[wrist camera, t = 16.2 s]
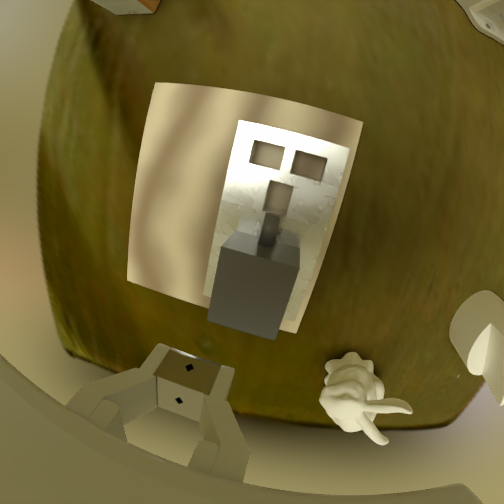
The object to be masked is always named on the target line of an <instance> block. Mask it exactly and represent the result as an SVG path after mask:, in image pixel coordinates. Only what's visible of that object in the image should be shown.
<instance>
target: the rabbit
mask: <svg viewBox="0 0 504 504" xmlns="http://www.w3.org/2000/svg"><path fill="white" fill-rule="evenodd" d="M373 368H374V366H373V362H372V361H371V360H362V359H361V357H360V356H359V355H358V354H357V353H356V352H349V353H346V354H345V355H344V357H343V358H342V359H332V360H330V361H328V362H327V363H326V364H325V369H326V371H327V372H328V373H329V374H328V375H327V376H326V377H325V379H324V382H325V384H326V386H325V387H324V388H323V389H322V394H321V395H320V398H319V401H320V404H321V405H322V406H323V407H324V408H325V410H326V412H327V414H328V415H329V416H330V417H331V418H332V419H333V420H334V422H335V423H336V424H338V425H339V426H340V427H341V428H342V429H343V430H344V431H347V432H356V431H360V430H363V431H364V432H365V433H366V434H367V435H368V436H369V437H370V438H371V439H372V440H373V441H374V442H375V443H377V444H379V445H385V444H387V443H389V440H388V439H387V437H385V436H383V435H381V433H380V432H379V431H378V429H377V428H376V426H375V425H374V423H373V420H374V418H375V416H376V414H377V413H394V412H401V413H406V414H412V412H413V411H412V408H411V407H410V405H409V404H408V403H407V402H405V401H403V400H401V399H398V398H386V399H383V397H384V385H383V382H382V381H381V380H380V379H379V378H378V377H376V376H375V375H374V374H373Z"/></svg>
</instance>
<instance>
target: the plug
mask: <svg viewBox="0 0 504 504" xmlns="http://www.w3.org/2000/svg"><path fill="white" fill-rule="evenodd" d="M280 218H281V217H280V216H279V215H276V214H273V213H265V217H264V221H263V225H262V229H261V233H260V236H255V235H251V234H248V233H244V232H240V231H237V230H235V231H234V232H233V233H232V234H231V236H230V237H229V238H228V239H227V240H226V241H225V242H224V244H223V245H222V246H221V249H220V254H219V259H218V264H217V269H216V274H215V279H214V284H213V289H212V295H211V300H210V305H209V311H208V316H207V321H210V322H213V323H216V324H219V325H223V326H226V327H229V328H232V329H236V330H239V331H243V332H246V333H249V334H253V335H256V336H260V337H264V338H267V339H271V340H275V339H276V336H277V333H278V331H279V328H280V325H281V322H282V319H283V317H284V314H285V311H286V308H287V305H288V302H289V299H290V296H291V293H292V290H293V287H294V284H295V281H296V278H297V275H298V272H299V269H300V248H298V247H294V246H291V245H287V244H284V243H280V242H277V241H274V240H275V237H276V233H277V229H278V226H279V222H280Z"/></svg>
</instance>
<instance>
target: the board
mask: <svg viewBox="0 0 504 504" xmlns="http://www.w3.org/2000/svg"><path fill="white" fill-rule="evenodd" d="M239 120H241V121H246V122H251V123H256V124H261V125H265V126H270V127H274V128H278V129H283V130H287V131H291V132H295V133H298V134H302V135H306V136H309V137H313V138H317V139H320V140H323V141H327V142H330V143H333V144H337V145H340V146H343V147H346V148H349V149H350V150H349V154H348V158H347V162H346V165H345V169H344V173H343V176H342V180H341V184H340V187H339V191H338V194H337V197H336V201H335V204H334V208H333V211H332V214H331V217H330V221H329V224H328V227H327V230H326V233H325V237H324V240H323V243H322V246H321V249H320V252H319V255H318V258H317V261H316V264H315V267H314V270H313V273H312V276H311V278H310V281H309V284H308V287H307V290H306V293H305V295H304V298H303V301H302V304H301V306H300V309H299V312H298V314H297V317H296V320H295V321H291V320H287V319H284V318H283V319H282V322H281V325H280V328H279V329H280V330H284V331H288V332H292V333H296V332H297V330H298V327H299V325H300V322H301V320H302V317H303V314H304V312H305V309H306V307H307V304H308V301H309V299H310V296H311V293H312V290H313V288H314V285H315V282H316V279H317V277H318V274H319V271H320V268H321V265H322V262H323V259H324V256H325V254H326V251H327V248H328V245H329V242H330V238H331V235H332V232H333V229H334V226H335V223H336V220H337V216H338V213H339V210H340V207H341V203H342V200H343V197H344V193H345V190H346V186H347V183H348V179H349V176H350V172H351V168H352V165H353V161H354V157H355V153H356V149H357V146H358V142H359V138H360V133H361V129H362V125H363V122H361V121H358V120H355V119H352V118H349V117H346V116H343V115H340V114H337V113H333V112H330V111H327V110H323V109H320V108H316V107H313V106H309V105H305V104H301V103H297V102H293V101H289V100H284V99H280V98H275V97H271V96H266V95H260V94H255V93H250V92H244V91H238V90H231V89H224V88H216V87H208V86H199V85H188V84H175V83H155V86H154V90H153V94H152V98H151V102H150V106H149V111H148V115H147V120H146V124H145V129H144V134H143V139H142V144H141V150H140V156H139V162H138V168H137V174H136V181H135V189H134V196H133V205H132V214H131V225H130V237H129V251H128V272H127V280H128V281H131V282H133V283H136V284H139V285H141V286H144V287H147V288H150V289H152V290H155V291H158V292H161V293H164V294H167V295H169V296H172V297H175V298H178V299H181V300H184V301H187V302H190V303H193V304H196V305H199V306H202V307H205V308H209V305H210V300H211V297H208V296H205V295H203V291H204V285H205V280H206V274H207V269H208V263H209V258H210V253H211V247H212V242H213V237H214V232H215V227H216V222H217V217H218V212H219V208H220V203H221V198H222V193H223V189H224V184H225V180H226V175H227V171H228V166H229V162H230V157H231V153H232V149H233V145H234V140H235V136H236V132H237V128H238V124H239ZM284 152H285V147H281V146H277V145H273V144H269V143H264V142H260V141H258V144H257V148H256V152H255V157H254V161H253V163H257V164H261V165H265V166H269V167H273V168H277V169H280V168H281V164H282V160H283V156H284ZM324 160H325V158H321V157H318V156H314V155H311V154H307V153H304V152H300V151H296V153H295V157H294V161H293V164H292V168H291V172H292V173H296V174H299V175H303V176H306V177H310V178H313V179H317V180H319V179H320V175H321V171H322V168H323V164H324ZM293 188H294V186H291V185H288V184H284V183H280V182H277V181H273V180H272V182H271V186H270V190H269V194H268V198H267V202H266V206H269V207H273V208H276V209H280V210H284V211H287V210H288V206H289V203H290V199H291V195H292V191H293Z"/></svg>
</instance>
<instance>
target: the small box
mask: <svg viewBox="0 0 504 504" xmlns="http://www.w3.org/2000/svg"><path fill="white" fill-rule="evenodd" d="M91 1H93V2H95V3H97V4H99V5H100V6H102V7H104V8H106V9H108V10H109V11H111V12H113V13H114V14H116V15H124V14H148V13H155V11H156V9H157V7H158V5H159V3H160V1H161V0H91Z"/></svg>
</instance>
